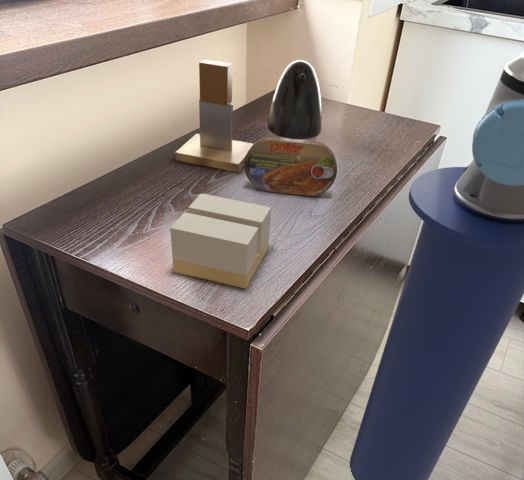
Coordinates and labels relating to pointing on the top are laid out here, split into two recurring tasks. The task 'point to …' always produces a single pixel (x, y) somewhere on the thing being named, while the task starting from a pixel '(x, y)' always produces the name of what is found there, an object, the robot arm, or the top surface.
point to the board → (213, 155)
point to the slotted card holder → (220, 240)
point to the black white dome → (296, 104)
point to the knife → (215, 104)
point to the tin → (290, 166)
